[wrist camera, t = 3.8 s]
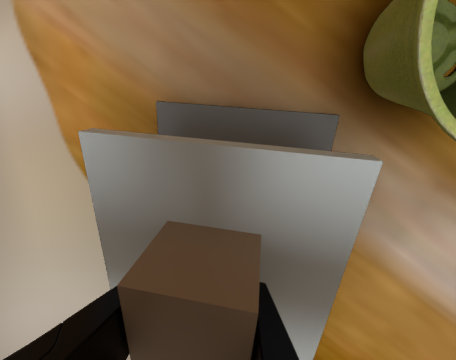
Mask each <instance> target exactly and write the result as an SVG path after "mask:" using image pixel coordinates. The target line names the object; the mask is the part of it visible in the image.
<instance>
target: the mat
mask: <svg viewBox="0 0 456 360" xmlns="http://www.w3.org/2000/svg"><path fill="white" fill-rule="evenodd" d="M156 106H157V123H158V135H168V136H178V137H189V138H199V139H209V140H220V141H230V142H241V143H251V144H261V145H272V146H282V147H293V148H303V149H313V150H324V151H331V148H332V144H333V140H334V136H335V132H336V128H337V124H338V120H339V116H340V115H333V114H319V113H306V112H293V111H280V110H266V109H253V108H240V107H226V106H213V105H200V104H187V103H173V102H160V101H156Z"/></svg>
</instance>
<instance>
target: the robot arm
mask: <svg viewBox="0 0 456 360" xmlns="http://www.w3.org/2000/svg"><path fill="white" fill-rule="evenodd" d="M128 355H129V347H128V342H127V337H126V331H125V326H124V321H123V315H122V310H121V304H120V299H119V294H118V288H117V286H115V287H114V288H112V289H111V290H109V291H108V292H106V293H105V294H103V295H102V296H100V297H99V298H97V299H96V300H94V301H93V302H92V303H90V304H89V305H87V306H86V307H84V308H83V309H81V310H80V311H78V312H77V313H75V314H74V315H72V316H71V317H69V318H68V319H66V320H65V321H64V322H63V323H60V324H59V325H57V326H56V327H54V328H53V329H51V330H50V331H48V332H47V333H45V334H43V335H42V336H40V337H39V338H37V339H36V340H34V341H33V342H31V343H30V344H28V345H26V346H25V347H23V348H21V349H20V350H18V351H16V352H15V353H13V354H11V355H10V356H8V357H7V358H5V359H3V360H126V359H127V357H128ZM251 360H299V357H298V355H297V353H296V351H295V348H294V346H293V344H292V342H291V339H290V337H289V335H288V332H287V330H286V328H285V326H284V323H283V321H282V319H281V317H280V314H279V312H278V310H277V308H276V305H275V303H274V301H273V299H272V296H271V294H270V292H269V290H268V287H267V285H266V283H264V282H259V309H258V318H257V324H256V330H255V336H254V342H253V348H252V354H251Z"/></svg>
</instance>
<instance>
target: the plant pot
mask: <svg viewBox="0 0 456 360" xmlns="http://www.w3.org/2000/svg"><path fill="white" fill-rule="evenodd" d="M363 61H364V71H365V78H366V80H367V82H368V84H369V86H370V87H371V88H372V89H373V91H374V92H375V93H377V94H378V95H379V96H381V97H383V98H385V99H387V100H390V101H392V102H395V103H398V104H401V105H404V106H407V107H410V108H412V109H415V110H418V111H421V112H423V113H426V114H429V115H431V116H432V117H433V119H434V120H435V121H436V122H437V124H438V125H439V126H440V127H441V129H442V130H443V131H444V132H445V133H446V134H448V135H449V136H450V137H451V138H452V139H454V140H455V141H456V71H455V72H454V73H453V74H452V75H451V76H448V77H444V74H445V73H446V72H447V71H448V70H449V69H450V68H451V67H453V66H454V65H455V63H456V6H455V5H454V4H452V3H451V2H448V0H393V1H392V2H391V3H390V4H389V5H388V6H387V8H386V9H385V10H384V11H383V12H382V13H381V14H380V16H379V17H378V18H377V20H376V21H375V23H374V25H373V26H372V28H371V30H370V32H369V35H368V37H367V39H366V42H365V46H364V51H363Z"/></svg>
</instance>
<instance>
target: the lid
mask: <svg viewBox="0 0 456 360" xmlns="http://www.w3.org/2000/svg"><path fill="white" fill-rule="evenodd" d="M78 133H79V138H80V143H81V148H82V153H83V158H84V163H85V167H86V172H87V177H88V182H89V187H90V192H91V197H92V202H93V207H94V211H95V216H96V221H97V226H98V231H99V236H100V241H101V246H102V251H103V255H104V260H105V265H106V270H107V275H108V280H109V285H110V290H111V289H112V288H114V287H115V286H117V288H118V294H119V299H120V304H121V310H122V315H123V321H124V326H125V331H126V337H127V342H128V347H129V353H130V358H131V360H251V354H252V348H253V342H254V336H255V330H256V324H257V318H258V309H259V282H264V283H266V285H267V287H268V290H269V292H270V294H271V296H272V299H273V301H274V303H275V305H276V308H277V310H278V312H279V314H280V317H281V319H282V321H283V323H284V326H285V328H286V330H287V332H288V335H289V337H290V339H291V342H292V344H293V346H294V348H295V351H296V353H297V355H298V357H299V360H313V358H314V355H315V352H316V350H317V347H318V344H319V341H320V338H321V336H322V333H323V330H324V327H325V324H326V321H327V319H328V316H329V313H330V310H331V307H332V304H333V302H334V299H335V296H336V293H337V290H338V288H339V285H340V282H341V279H342V276H343V273H344V271H345V268H346V265H347V262H348V259H349V256H350V254H351V251H352V248H353V245H354V242H355V240H356V237H357V234H358V231H359V228H360V225H361V223H362V220H363V217H364V214H365V211H366V208H367V206H368V203H369V200H370V197H371V194H372V191H373V189H374V186H375V183H376V180H377V177H378V175H379V172H380V169H381V166H382V163H383V161H381V160H379V159H378V158H376V157H374V156H372V155H365V154H355V153H344V152H334V151H324V150H313V149H303V148H293V147H282V146H272V145H261V144H251V143H241V142H230V141H220V140H209V139H199V138H189V137H178V136H168V135H158V134H147V133H137V132H126V131H116V130H106V129H95V128H92V129H87V130H82V131H78Z"/></svg>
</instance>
